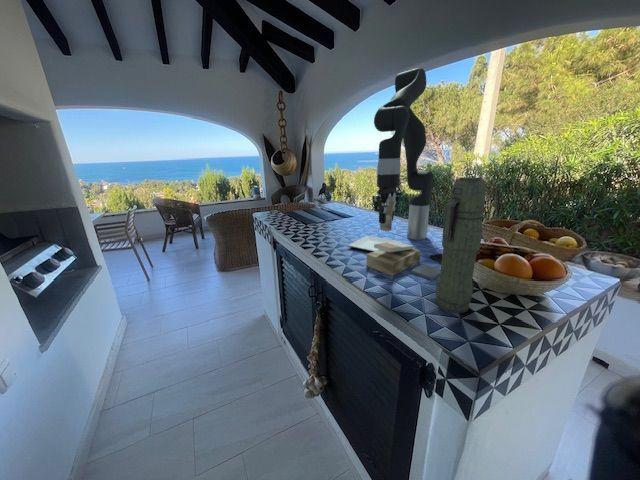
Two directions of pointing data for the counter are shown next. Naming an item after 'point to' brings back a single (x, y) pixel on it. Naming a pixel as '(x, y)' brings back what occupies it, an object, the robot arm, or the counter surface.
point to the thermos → (460, 244)
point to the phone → (436, 257)
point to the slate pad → (426, 272)
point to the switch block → (392, 260)
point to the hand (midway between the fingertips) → (386, 221)
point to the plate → (370, 243)
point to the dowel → (388, 216)
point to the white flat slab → (393, 246)
